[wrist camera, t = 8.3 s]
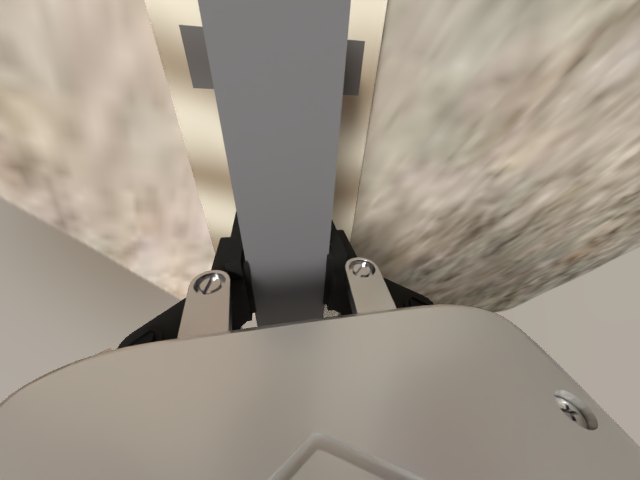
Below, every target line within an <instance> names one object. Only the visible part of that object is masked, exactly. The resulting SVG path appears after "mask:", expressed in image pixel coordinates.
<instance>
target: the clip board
mask: <svg viewBox="0 0 640 480" xmlns="http://www.w3.org/2000/svg"><path fill="white" fill-rule="evenodd" d="M144 1H145V4H146V8H147V12H148V15H149V19H150V22H151V26H152V29H153V33H154V37H155V40H156V44H157V47H158V51H159V54H160V58H161V62H162V65H163V69H164V72H165V76H166V79H167V83H168V87H169V90H170V94H171V97H172V101H173V104H174V108H175V112H176V115H177V119H178V122H179V126H180V129H181V133H182V137H183V140H184V144H185V147H186V151H187V154H188V158H189V162H190V165H191V169H192V172H193V176H194V179H195V183H196V187H197V190H198V194H199V197H200V201H201V204H202V208H203V212H204V215H205V219H206V222H207V226H208V229H209V233H210V237H211V240H212V244H213V247H214V251H215V254H216V251H217V248H218V244H219V241H220V238H221V237H230V236H231V232H232V227H233V223H234V218H235V214H236V206H235V201H234V195H233V190H232V184H231V179H230V173H229V168H228V163H227V157H226V152H225V146H224V141H223V135H222V130H221V124H220V119H219V114H218V108H217V103H216V97H215V92H214V86H213V81H212V76H211V70H210V65H209V59H208V54H207V48H206V43H205V37H204V32H203V27H202V21H201V16H200V10H199V5H198V0H144ZM387 1H388V0H351V6H350V17H349V29H348V40H347V51H346V63H345V74H344V86H343V97H342V108H341V120H340V131H339V143H338V154H337V165H336V177H335V188H334V200H333V211H332V220H333V223H334V225H335V227H336V229H337V230H344V232H345V234H346V236H347V238H348V240H349V242H350V240H351V234H352V227H353V221H354V215H355V208H356V202H357V195H358V189H359V182H360V176H361V169H362V163H363V156H364V150H365V143H366V137H367V130H368V124H369V117H370V111H371V104H372V98H373V91H374V85H375V78H376V72H377V66H378V59H379V53H380V46H381V40H382V33H383V27H384V20H385V14H386V7H387Z"/></svg>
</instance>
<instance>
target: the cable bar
mask: <svg viewBox="0 0 640 480" xmlns="http://www.w3.org/2000/svg"><path fill="white" fill-rule="evenodd" d="M198 5H199V10H200V16H201V21H202V27H203V32H204V37H205V43H206V48H207V54H208V59H209V65H210V70H211V76H212V81H213V86H214V92H215V97H216V103H217V108H218V114H219V119H220V124H221V130H222V135H223V141H224V146H225V152H226V157H227V163H228V168H229V173H230V179H231V184H232V190H233V195H234V201H235V206H236V212H237V217H238V222H239V228H240V233H241V239H242V244H243V250H244V255H245V261H248V266H249V272H250V277H251V283H252V289H253V294H254V300H255V306H256V311H257V312H256V313H255V315H256V320H257V326H258V327H260V326H267V325H275V324H282V323H289V322H297V321H304V320H311V319H319V318H323V314H324V304H323V297H324V285H325V273H326V261H327V254H329V245H330V234H331V222H332V211H333V200H334V188H335V177H336V165H337V154H338V143H339V131H340V120H341V108H342V97H343V86H344V74H345V63H346V51H347V40H348V29H349V17H350V6H351V0H198Z"/></svg>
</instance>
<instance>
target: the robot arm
mask: <svg viewBox="0 0 640 480" xmlns="http://www.w3.org/2000/svg"><path fill="white" fill-rule="evenodd" d="M323 304H327V308H328V310H335V311H337V312H338V316H334V317H326V318H319V319H311V320H304V321H297V322H289V323H282V324H275V325H267V326H260V327H253V328H246V329H242V325H243V324H245V323H246V322H247V321H251V320H252V313H256V312H257V311H256V306H255V300H254V294H253V289H252V283H251V277H250V272H249V266H248V261H245V255H244V250H243V244H242V239H241V233H240V228H239V222H238V217H237V212H236V214H235V218H234V223H233V227H232V232H231V236H230V237H221V238H220V241H219V244H218V248H217V251H216V255H215V259H214V262H213V266H212V269H211V271H207V272H204V273H202V274H199V275H198V276H197V277H195V278H194V279H193V280H192V281H191V283H190V285H189V288H188V293H187V297H186V298H185V299H183V300H182V301H180V302H179V303H177V304H176V305H174V306H172V307H171V308H169V309H168V310H167V311H165V312H163V313H162V314H160V315H159V316H157V317H156V318H154V319H153V320H151V321H149V322H148V323H146V324H145V325H143V326H142V327H141V328H139V329H137V330H136V331H134V332H133V333H131V334H130V335H129V336H128V337H126V338H125V339H124V340H123V341H122V342H121V344H120V345H119V347H118V348H117V349H115V350H111V349H110V348H109V349H107V350H104V351H102V352H100V353H98V354H96V355H93V356H90V357H87V358H84V359H81V360H78V361H75V362H73V363H70V364H68V365H66V366H63V367H61V368H58V369H56V370H53V371H51V372H49V373H47V374H45V375H43V376H41V377H39V378H37V379H35V380H33V381H32V382H30V383H28V384H26V385H24V386H23V387H21V388H20V389H18V390H17V391H15V392H14V393H12V394H11V395H9V396H8V397H7V398H6V399H5V400H3V401H2V402H1V403H0V480H640V447H639V446H638V445H637V444H636V443H635V442H634V440H633V439H631V438H630V436H629V435H628V434H627V433H626V432H625V431H624V430H623V429H622V428H621V427H620V426H619V425H618V424H617V423H616V422H615V421H614V420H613V419H612V418H611V417H610V416H609V415H608V414H607V413H606V412H605V411H604V410H603V409H602V408H601V407H600V406H599V405H598V404H597V403H596V402H595V400H594V399H593V398H592V397H591V396H590V395H589V394H588V393H587V392H586V391H585V390H584V389H583V388H582V387H581V386H580V385H579V384H578V383H577V382H575V380H574V379H573V378H572V377H571V376H570V375H569V374H568V373H567V372H566V371H565V370H564V369H563V368H562V367H561V366H560V365H559V364H558V363H557V362H556V361H555V360H553V359H552V358H551V357H550V356H549V355H548V354H547V353H546V352H545V351H544V350H543V349H542V348H541V347H540V346H539V345H538V344H537V343H536V342H534V341H533V340H532V339H531V338H530V337H529V336H528V335H527V334H525V333H524V332H523V331H522V330H521V329H519V328H518V327H517V326H516V325H514V324H513V323H512V322H510V321H509V320H507V319H506V318H504V317H502V316H500V315H498V314H496V313H494V312H491V311H488V310H484V309H481V308H476V307H471V306H464V305H453V304H439V303H438V305H434V304H433V302H431V301H430V300H429V299H428V298H426V297H424V296H423V295H420V294H418V293H416V292H414V291H412V290H409V289H407V288H405V287H403V286H400V285H398V284H396V283H394V282H392V281H389V280H387V279H385V278H383V277H382V274H381V272H380V270H379V268H378V266H377V265H376V264H375V263H374V262H373V261H371V260H369V259H366V258H361V257H357V256H356V254H355V252H354V250H353V248H352V246H351V244H350V242H349V240H348V238H347V236H346V234H345V232H344V230H337V229H336V227H335V225H334V223H333V220H332V222H331V234H330V245H329V254H327V261H326V273H325V285H324V297H323Z"/></svg>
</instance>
